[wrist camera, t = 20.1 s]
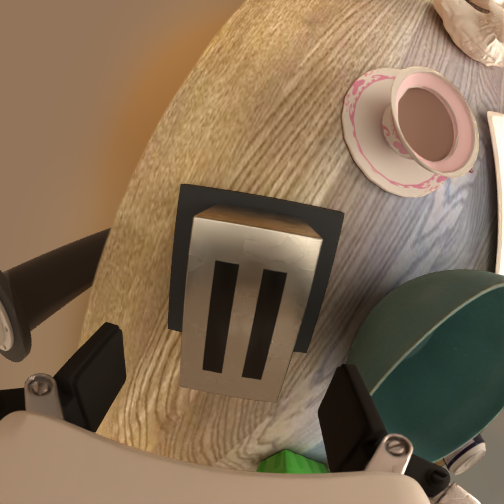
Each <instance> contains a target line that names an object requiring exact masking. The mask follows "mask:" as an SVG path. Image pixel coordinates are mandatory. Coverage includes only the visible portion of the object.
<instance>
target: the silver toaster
mask: <svg viewBox="0 0 504 504" xmlns="http://www.w3.org/2000/svg"><path fill="white" fill-rule="evenodd" d="M322 242H323V239H322V238H321V237H320V236H319V235H318V234H317V233H316V232H315V231H314V230H313V229H312V228H311V227H310V226H309V225H308V224H307V223H306V222H305V221H304V220H303V219H302V218H301V217H297V216H292V215H286V214H281V213H276V212H270V211H265V210H259V209H253V208H248V207H242V206H236V205H230V204H224V203H218V204H216V205H214V206H212V207H210V208H208V209H207V210H205V211H203V212H201V213H199V214H197V215H195V216H194V217H193V223H192V231H191V239H190V248H189V256H188V266H187V276H186V287H185V298H184V311H183V325H182V342H181V363H180V386H181V387H185V388H190V389H194V390H199V391H204V392H208V393H214V394H219V395H224V396H230V397H236V398H242V399H249V400H256V401H264V402H273V403H276V402H277V400H278V397H279V394H280V391H281V388H282V385H283V382H284V379H285V376H286V373H287V370H288V367H289V364H290V360H291V357H292V354H293V351H294V347H295V344H296V341H297V337H298V334H299V331H300V327H301V324H302V320H303V317H304V313H305V309H306V306H307V302H308V298H309V295H310V291H311V287H312V283H313V279H314V275H315V271H316V267H317V263H318V259H319V255H320V250H321V246H322Z"/></svg>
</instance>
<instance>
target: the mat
mask: <svg viewBox="0 0 504 504" xmlns="http://www.w3.org/2000/svg"><path fill="white" fill-rule="evenodd" d="M218 203H224V204H230V205H236V206H242V207H248V208H253V209H259V210H265V211H270V212H276V213H281V214H286V215H292V216H297V217H301V218H302V219H303V220H304V221H305V222H306V223H307V224H308V225H309V226H310V227H311V228H312V229H313V230H314V231H315V232H316V233H317V234H318V235H319V236H320V237H321V238H322V239H323V242H322V246H321V250H320V255H319V259H318V263H317V267H316V271H315V275H314V279H313V283H312V287H311V291H310V295H309V298H308V302H307V306H306V309H305V313H304V317H303V320H302V324H301V327H300V331H299V334H298V337H297V341H296V344H295V347H294V351H293V352H302V353H307V350H308V347H309V344H310V341H311V338H312V335H313V332H314V329H315V325H316V322H317V319H318V316H319V312H320V309H321V305H322V302H323V298H324V295H325V291H326V288H327V284H328V280H329V277H330V273H331V269H332V265H333V261H334V257H335V253H336V249H337V245H338V241H339V236H340V232H341V228H342V223H343V219H344V213H343V212H340V211H336V210H331V209H326V208H322V207H317V206H312V205H307V204H302V203H297V202H292V201H287V200H282V199H277V198H271V197H266V196H260V195H255V194H249V193H243V192H237V191H231V190H224V189H218V188H211V187H204V186H197V185H190V184H181V186H180V193H179V201H178V208H177V216H176V225H175V234H174V244H173V254H172V266H171V279H170V294H169V313H168V329H171V330H175V331H179V332H182V325H183V311H184V298H185V287H186V276H187V266H188V256H189V248H190V239H191V231H192V223H193V217H194V216H195V215H197V214H199V213H201V212H203V211H205V210H207V209H208V208H210V207H212V206H214V205H216V204H218Z"/></svg>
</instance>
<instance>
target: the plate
mask: <svg viewBox="0 0 504 504" xmlns="http://www.w3.org/2000/svg"><path fill="white" fill-rule="evenodd" d="M487 120H488V125H489V130H490V136H491V141H492V147H493V154H494V162H495V171H496V182H497V198H498V239H497V256H496V267H495V273H496V274H500V275H504V114H501V113H496V112H491V111H488V112H487Z"/></svg>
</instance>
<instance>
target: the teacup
mask: <svg viewBox="0 0 504 504" xmlns="http://www.w3.org/2000/svg"><path fill="white" fill-rule="evenodd" d="M341 119H342V125H343V132H344V139H345V142H346V144H347V146H348V148H349V151H350V153H351V155H352V158H353V160H354V162H355V163H356V164H357V165H358V167H359V168H360V169H361V170H362V172H363V173H364V174H365V176H366V177H367V178H368V179H369V180H370V181H372V182H373V183H375V184H376V185H377V186H379V187H380V188H381V189H383V190H384V191H386V192H389V193H392V194H395V195H398V196H401V197H422V196H424V195H426V194H428V193H431V192H433V191H435V190H436V189H437V188H438V187H439V186H440V185H441V184H442V183H443V182H444V181H445V180H446V179H447V177H449V178H454V177H459V176H462V175H464V174H466V173H467V172H468V171H469V172H470V173H473V171H472V167H473V165H474V163H475V161H476V159H477V155H478V150H479V135H478V129H477V124H476V121H475V118H474V115H473V113H472V110H471V108H470V106H469V104H468V103H467V101H466V99H465V98H464V96H463V95H462V93H461V92H460V91H459V90H458V88H457V87H456V86H455V85H454V84H453V83H452V82H451V81H450V80H448V79H447V78H446V77H445V76H443V75H442V74H440V73H438V72H437V71H435V70H432V69H430V68H427V67H422V66H412V67H408V68H405V69H396V68H389V67H382V68H378V69H373V70H369V71H367V72H366V73H364V74H363V75H362V76H360V77H359V78H358V79H356V80H355V81H354V82H353V84H352V85H351V87H350V89H349V91H348V92H347V94H346V96H345V98H344V104H343V110H342V116H341Z"/></svg>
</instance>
